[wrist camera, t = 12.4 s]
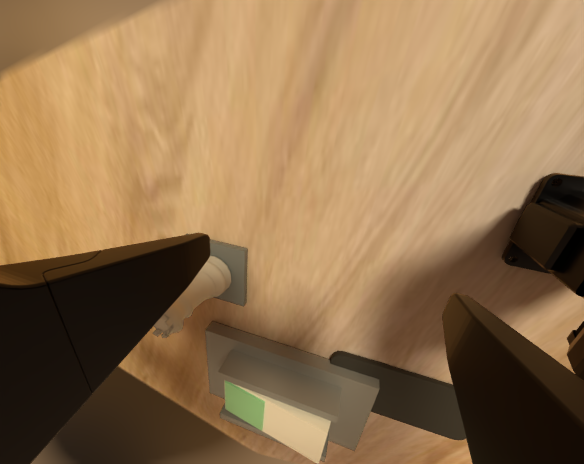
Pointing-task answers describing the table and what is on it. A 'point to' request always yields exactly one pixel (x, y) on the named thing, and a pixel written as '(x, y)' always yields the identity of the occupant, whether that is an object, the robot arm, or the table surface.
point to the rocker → (279, 420)
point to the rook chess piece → (195, 296)
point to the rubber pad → (232, 270)
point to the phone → (409, 396)
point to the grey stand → (290, 382)
